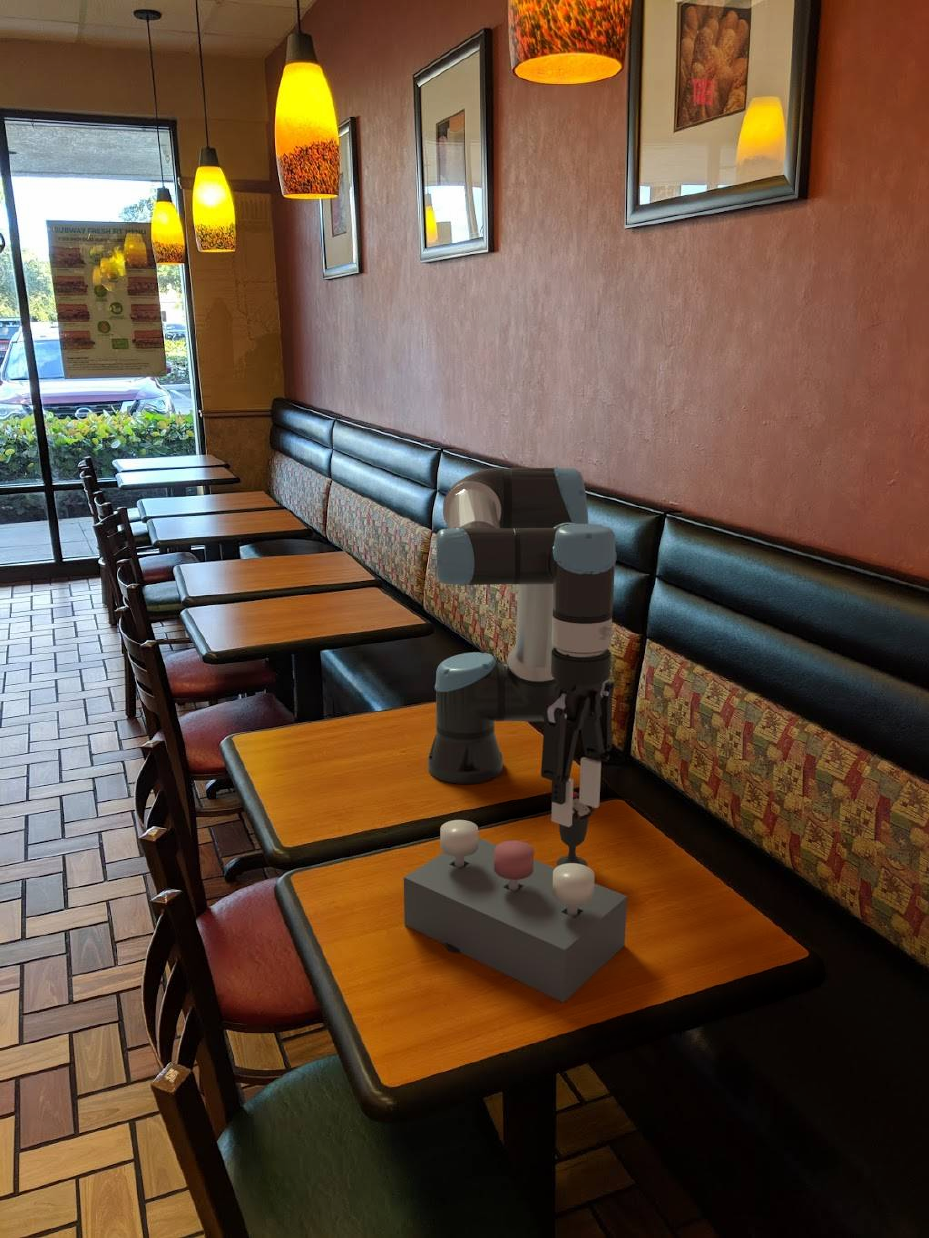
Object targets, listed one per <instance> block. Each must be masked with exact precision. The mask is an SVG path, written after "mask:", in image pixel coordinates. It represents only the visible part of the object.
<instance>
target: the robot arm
mask: <svg viewBox="0 0 929 1238" xmlns="http://www.w3.org/2000/svg"><path fill="white" fill-rule="evenodd" d="M588 510H589V508H588V501H587V493H586V487H585V481H584V477H583V474H582V473H581V472H580V471H579V470H578V469H575V468H569V467H568V468H566V467H558V466H553V467H508V468H507V467H493V468H486V469H483V470H482V469H481V470H479V471H475V472H473V473H471V474H468V475H466V476H465V477H463V478H462V479H459V480H458V481H457V482H455V483H454V484H453V485H452V487H451V488H449V490H448V491H447V493H446V495H445V496H444V500H443V503H442V515H443V521H444V523H445V524H446V527H447V528H443V529H442V528H441V529H440V530H438V531H437V533H436V538H435V539H436V543H435V544H436V545H435V546H436V547H435V548H436V549H435V550H436V551H435V552H436V554H435V555H436V578H437V580H438V582H439V583H441V584H443V585H458V586H461V587H466V586H478V585H479V586H482V585H483V586H485V585H486V586H487V585H488V586H489V585H492V586H493V585H495V586H496V585H518V588H517V589H518V590H517V608H516V629H515V630H516V631H515V647H514V648H513V649H512V650H511V651H510V652H509V653H508V655H507V659H506V661H504V662H497V660H496V659H495V657H494V655H492V654H490V653H489V652H488V653H486V652H485V653H484V652H482V651H481V652H479V651H478V652H477V651H473V652H463V653H460V654H456V655H453V656H450V657H448V658H446V659H444V660H443V661H441V662H440V663H439V665H438V667H437V669H436V675H435V676H436V677H435V685H434V690H435V691H436V695H435V697H436V699H435V701H436V702H435V706H436V707H435V709H436V713H435V715H436V716H435V718H436V721H435V724H436V725H435V726H436V732H435V734H434V735H435V736H434V739H433V742H432V744H431V748H430V751H429V754H428V757H427V770H428V773H429V774H430V775H431V776H432V777H433V778H436V779H438V780H440V781H442V782H447V783H451V784H457V785H459V784H461V785H469V784H471V785H474V784H481V783H485V782H488V781H491V780H493V779H495V778H497V777H499V776H500V775H501V773H502V772H503V769H504V767H503V766H504V764H503V763H504V758H503V755H502V752H501V751H500V747H499V746H500V745H499V743H498V739H497V737H496V734H495V732H496V731H495V722H543V738H542V753H541V768H540V770H541V771H540V776H541V777H542V778H544V779H546V780H550V781H551V798H550V799H551V817H550V819H551V822H552V823H555V824H558V825H559V824H561V825H564V826H567V827H570V826H571V825H572V809H573V792H574V778H570V777H571V771H572V766H573V762H574V756H575V751H576V746H577V742H578V737H579V731H580V733H581V738H582V745H583V746H582V747H583V750H584V752H583V753H584V755H585V756H583V757H581V758H580V768H579V769H580V770H579V771H580V772H579V774H580V775H579V794H580V795H579V803H582V804H585V805H588V806H591V807H592V808H595V809H597V808H599V807H600V795H601V794H600V792H601V776H602V775H601V772H602V761H603V762H608V761H609V760H610V753H609V754H608V753H606V752H610V751H611V749H612V745H613V743H612V742H613V738H612V737H613V695H614V691H615V682H613V681H609V679H610V677H611V668H612V667H611V666H612V665H611V664H612V652H611V651H610V648H611V646H612V636H613V634H614V630H613V615H614V614H613V609H614V589H615V588H614V587H615V571H616V561H617V557H618V556H617V555H618V553H617V552H616V535H615V532H614V531H613V529H611V528H610V527H608V526H604V525H600V524H593V523H589V511H588ZM574 721H575V722H574Z"/></svg>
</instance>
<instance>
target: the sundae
mask: <svg viewBox="0 0 929 1238" xmlns="http://www.w3.org/2000/svg"><path fill="white" fill-rule="evenodd" d="M579 795H580V792H576V791H573V809H572V825H571V826H570V827H567V826H564V825H561V824H558V829H559V831H558V832H559V834H560V835H559V836H560V840H561V841H562V842H563V843H564V844H565V845H566V846H568V854H567V855H565V856H562V857H560V858H558V859H557V861H556V865H557V866H559V865H562V864H567V863H576V864H582V865H585V866H587V867H588V864H587V861H586V860H585V859H583V858H582V857H579V856H577V854H576V853H577V852H576V850H577V849H576V848H577V847H578V846H580V845H581V844H582V843H583V842H584V841H585V839H586V835H587V832H588V831H587V830H588V825H589V821H590V817H591V816H592V815H593V814H594V812H595V809H594V807H591V806H588V805H585V804H582V803H579ZM557 866H556V867H557Z"/></svg>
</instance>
